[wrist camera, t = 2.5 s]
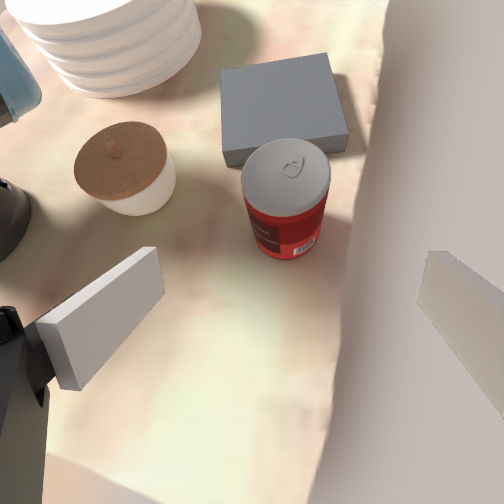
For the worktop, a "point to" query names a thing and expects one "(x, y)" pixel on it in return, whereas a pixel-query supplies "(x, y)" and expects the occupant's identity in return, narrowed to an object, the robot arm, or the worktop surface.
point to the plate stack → (111, 41)
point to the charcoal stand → (280, 106)
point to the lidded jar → (127, 169)
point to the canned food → (286, 195)
